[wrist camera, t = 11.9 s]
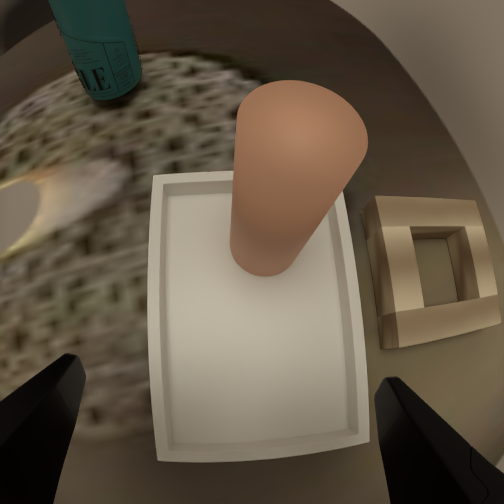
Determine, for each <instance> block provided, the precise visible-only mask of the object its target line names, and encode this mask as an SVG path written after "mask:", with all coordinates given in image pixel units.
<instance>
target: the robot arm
mask: <svg viewBox="0 0 504 504" xmlns="http://www.w3.org/2000/svg"><path fill="white" fill-rule="evenodd" d="M85 381H86V374H85V371H84V368H83V366H82V363H81V361H80V358H79V357H78V356H77V355H73V354H69V353H66V354H64V355H62V356H61V357H60V358H58V359H57V360H56V361H54V362H53V363H51V364H50V365H49V366H47V367H46V368H45V369H43V370H42V371H41V372H39V373H38V374H37V375H35V376H34V377H32V378H31V379H30V380H28V381H27V382H26V383H24V384H23V385H22V386H20V387H19V388H18V389H16V390H15V391H14V392H12V393H11V394H10V395H8V396H7V397H6V398H4V399H3V400H2V401H0V504H53V502H54V498H55V494H56V490H57V486H58V482H59V479H60V475H61V471H62V468H63V464H64V460H65V457H66V454H67V450H68V447H69V444H70V440H71V437H72V434H73V431H74V428H75V424H76V421H77V417H78V412H79V407H80V403H81V398H82V394H83V389H84V385H85ZM374 402H375V411H376V420H377V429H378V439H379V445H380V451H381V455H382V460H383V465H384V470H385V475H386V481H387V486H388V492H389V497H390V503H391V504H504V473H503V472H501V471H500V470H499V469H497V468H496V467H495V466H494V465H492V464H491V463H490V462H489V461H488V460H486V459H485V458H484V457H483V456H482V455H481V454H480V453H479V452H478V451H477V450H476V449H474V448H473V447H472V446H471V445H470V444H469V443H468V442H467V441H466V440H465V439H464V438H463V437H462V436H461V435H460V434H458V433H457V432H456V431H455V430H454V429H453V428H452V427H451V426H450V425H449V424H448V423H447V422H446V421H445V420H444V419H443V418H441V417H440V416H439V415H438V414H437V413H436V412H435V411H434V410H433V409H432V408H431V407H430V406H429V405H428V404H427V403H425V402H424V401H423V400H422V399H421V398H420V397H419V396H418V395H417V394H416V393H415V392H414V391H413V390H412V389H410V388H409V387H408V386H407V385H406V384H405V383H404V382H403V381H402V380H401V379H400V378H398V377H396V376H393V377H385V378H384V379H383V380H382V382H381V384H380V386H379V388H378V390H377V391H376V393H375V397H374Z"/></svg>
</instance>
